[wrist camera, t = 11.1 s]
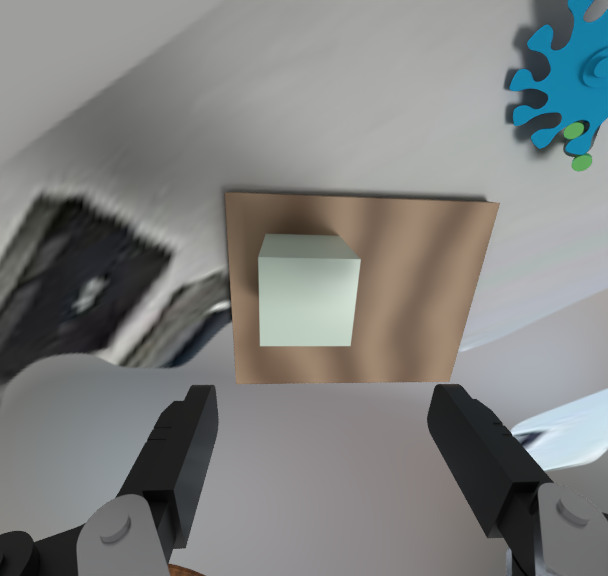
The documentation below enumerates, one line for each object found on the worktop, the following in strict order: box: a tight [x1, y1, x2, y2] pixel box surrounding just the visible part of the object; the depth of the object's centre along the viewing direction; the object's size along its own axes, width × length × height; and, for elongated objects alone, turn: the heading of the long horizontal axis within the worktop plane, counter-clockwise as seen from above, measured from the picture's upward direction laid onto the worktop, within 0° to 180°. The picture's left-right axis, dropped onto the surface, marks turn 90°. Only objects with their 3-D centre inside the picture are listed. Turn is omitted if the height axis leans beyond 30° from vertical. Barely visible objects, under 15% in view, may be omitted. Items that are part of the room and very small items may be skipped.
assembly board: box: [225, 192, 500, 384], centre depth 24 cm, size 22×18×6 cm
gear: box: [509, 0, 608, 171], centre depth 20 cm, size 11×6×10 cm
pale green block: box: [258, 234, 361, 346], centre depth 21 cm, size 6×6×7 cm
